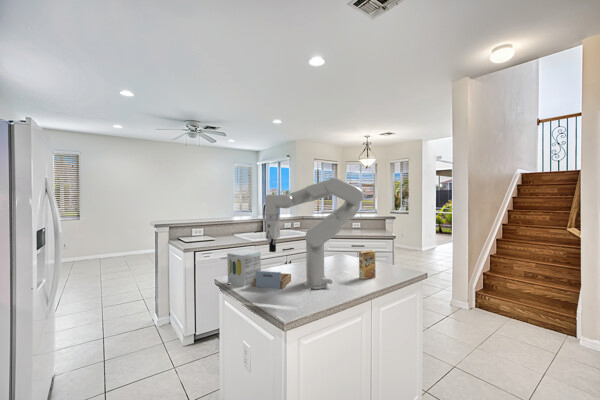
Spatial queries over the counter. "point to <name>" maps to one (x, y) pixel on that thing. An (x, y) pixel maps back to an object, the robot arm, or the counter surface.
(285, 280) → the crate
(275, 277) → the panel
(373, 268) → the candy box
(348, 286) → the counter surface
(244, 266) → the supplement box
